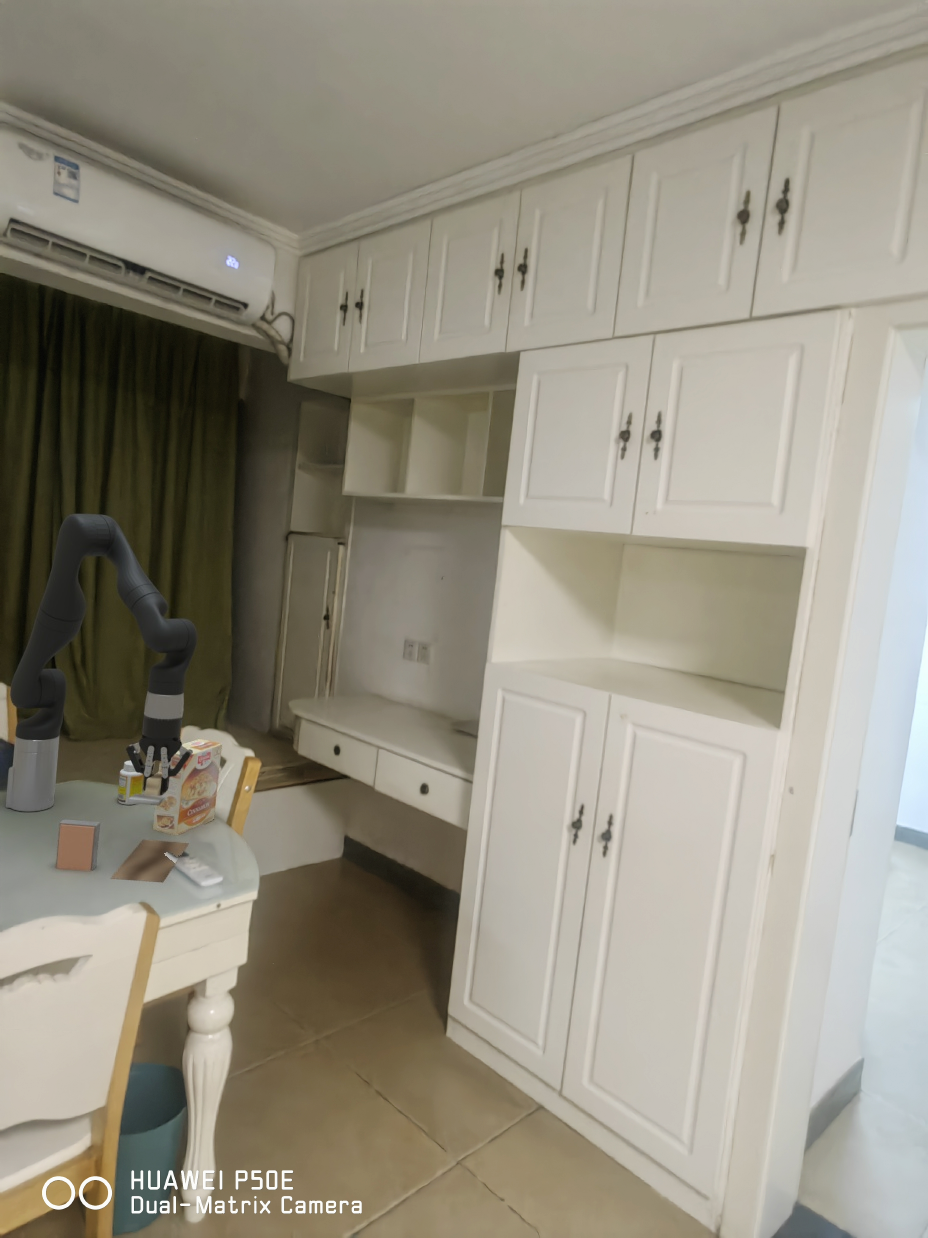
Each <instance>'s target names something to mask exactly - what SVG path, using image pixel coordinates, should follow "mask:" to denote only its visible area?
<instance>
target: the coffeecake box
mask: <svg viewBox="0 0 928 1238" xmlns="http://www.w3.org/2000/svg"><path fill="white" fill-rule="evenodd" d="M182 746H183V747H185V748H186V749H188V750H189V749H191V750H192V751H193V753H192V755H191V756H190V758H189V759H188V760H187V762H186V763H185V765H184V766H183V767H182V769H181V770H180V772H179V773H178V774H177V775H176V776H170V780H169V788H168V791H167V792H166V793H165V794H163V795H162V796H166V799H165V801H164V802H163V803H161V804H160V805H159V806H157V805H154V815H153V824H152V825H153V826H152V829H153V831H158V832H160V833H165V834H169V835H173V836H179V835H182V834H183V833H186V832H188V831H189V830H191V829H193V828H195V827H198V826H199V825H206V824H208V823H210V822H212V821H214V820H215V814H216V804H217V796H218V795H217V794H218V786H219V775H220V768H221V766H220V765H221V759H222V750H223V749H222V748H223V743H220V742H217V741H211V740H206V739H202V738H198V739H195V740H192V741H189V742H185V743H182ZM179 754H180V752H179V751H178V752H177V753H176V754H175V755H174V756H173V757H172V763H171V769H173V768H175V766H176V765H177V763H178V762H179V761H180V759H181V758H180V757H179ZM158 766H159V767H158V772H162V767H161V761H159V765H158ZM213 819H214V820H213Z"/></svg>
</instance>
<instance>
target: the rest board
mask: <svg viewBox="0 0 928 1238" xmlns="http://www.w3.org/2000/svg"><path fill="white" fill-rule="evenodd" d="M189 844H190V843H189V842H180V841H179V842H178V841H177V842H176V841H166V840H165V841H164V840H154V839H153V840H151V839H142V840H141V841H140V843H139V844H138V845H137V846H136V847H135V848H134V849H133V851H132V852H131V853H130V854H129V856H128V857H127V858H126V859H125V860H124V862H123V863H122V864H121V865H120V867H118V868H117V870H116V872H114V873H113V875H112V876H111V877H110V879H111V880H124V881H136V882H137V881H138V882H140V881H141V882H152V883H164V881H165V880H166V879H167V877H168V876H169V874H170V873H171V871H172V870H173V869H174V867H175V865H176V864H175V863H174V862H173V861H172V860H170V859H169V858H168V857H167V856H165V854H164V853H166V852H168V853H173V855H175V856H176V857H178V855H179V856H180V855H181V856H182V855H183V853H184V852H185V850H186V849H187V847H188V846H189ZM181 856H180V857H181Z"/></svg>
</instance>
